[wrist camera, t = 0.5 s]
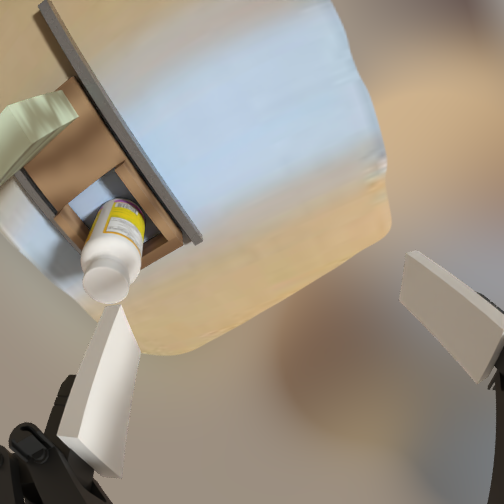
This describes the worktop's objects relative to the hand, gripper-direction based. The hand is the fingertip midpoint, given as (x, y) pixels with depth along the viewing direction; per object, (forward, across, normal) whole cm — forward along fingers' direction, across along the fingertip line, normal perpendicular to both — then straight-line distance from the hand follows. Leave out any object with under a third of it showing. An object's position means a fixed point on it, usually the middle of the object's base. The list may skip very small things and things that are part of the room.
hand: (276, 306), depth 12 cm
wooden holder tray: (+24, -16, +4) cm, 29 cm away
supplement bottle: (+26, -14, -1) cm, 29 cm away
